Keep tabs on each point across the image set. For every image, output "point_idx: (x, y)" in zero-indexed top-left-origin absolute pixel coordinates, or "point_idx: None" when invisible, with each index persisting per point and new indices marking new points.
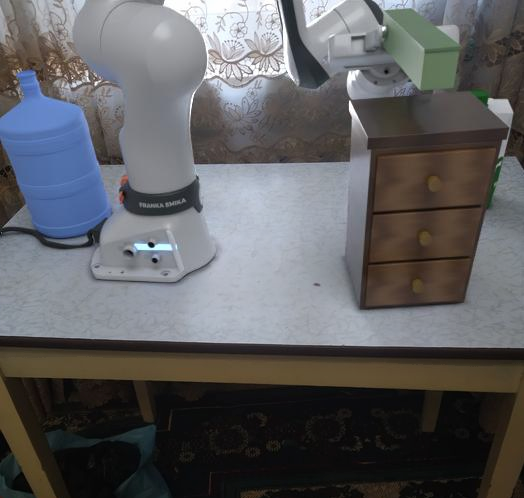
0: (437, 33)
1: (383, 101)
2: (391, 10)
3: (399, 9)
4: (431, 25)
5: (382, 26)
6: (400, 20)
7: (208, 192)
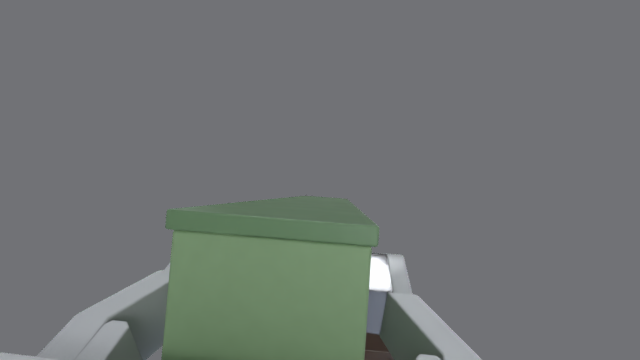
0: (305, 197)
1: (372, 335)
2: (322, 218)
3: (263, 214)
4: (289, 198)
5: (383, 255)
6: (338, 205)
7: None
